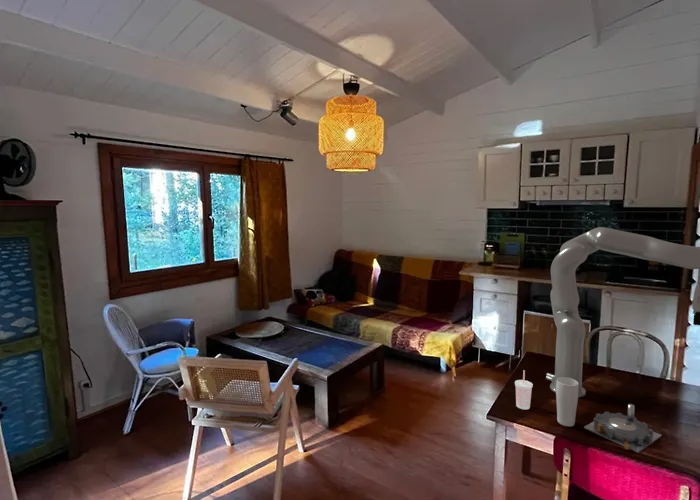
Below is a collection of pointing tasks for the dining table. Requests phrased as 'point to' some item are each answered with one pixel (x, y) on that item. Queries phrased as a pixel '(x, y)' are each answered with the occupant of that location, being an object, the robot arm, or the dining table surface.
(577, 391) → the drinking glass
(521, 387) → the beverage cup
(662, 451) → the dining table surface
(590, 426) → the base plate
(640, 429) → the sprocket
